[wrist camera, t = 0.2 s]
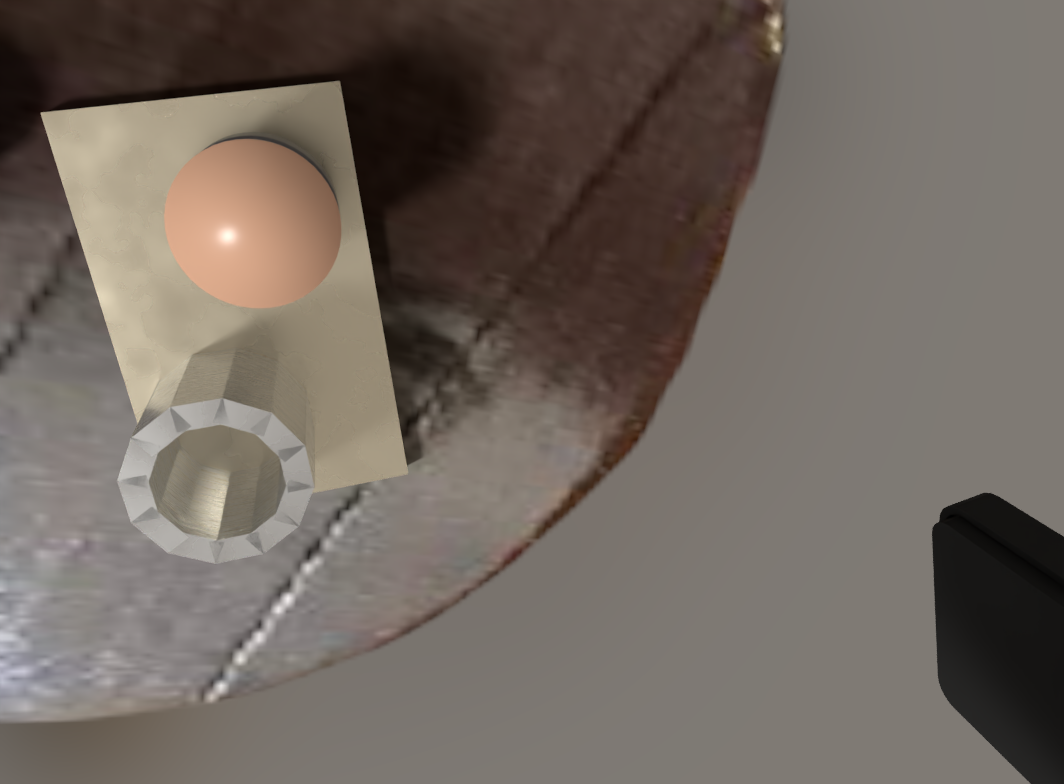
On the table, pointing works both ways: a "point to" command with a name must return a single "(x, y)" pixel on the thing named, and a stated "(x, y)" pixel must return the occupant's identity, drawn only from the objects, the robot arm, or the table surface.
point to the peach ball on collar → (254, 220)
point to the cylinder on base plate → (228, 330)
